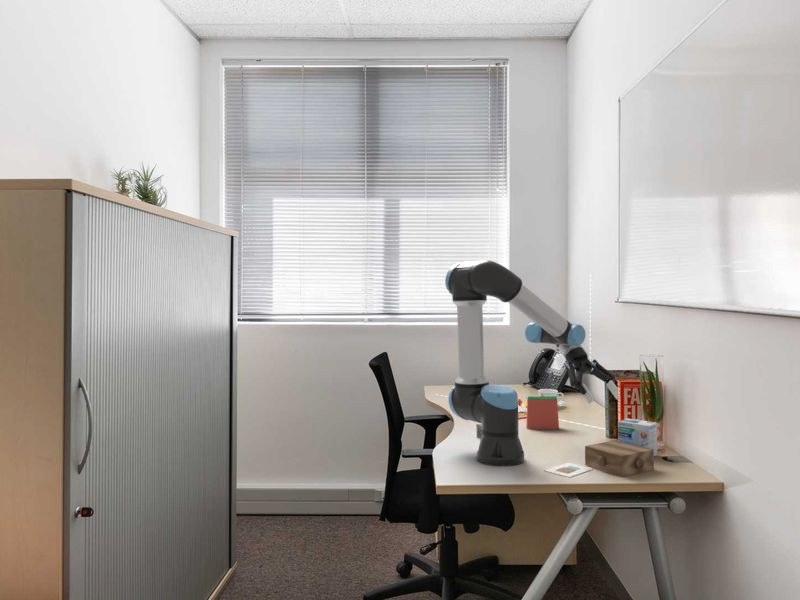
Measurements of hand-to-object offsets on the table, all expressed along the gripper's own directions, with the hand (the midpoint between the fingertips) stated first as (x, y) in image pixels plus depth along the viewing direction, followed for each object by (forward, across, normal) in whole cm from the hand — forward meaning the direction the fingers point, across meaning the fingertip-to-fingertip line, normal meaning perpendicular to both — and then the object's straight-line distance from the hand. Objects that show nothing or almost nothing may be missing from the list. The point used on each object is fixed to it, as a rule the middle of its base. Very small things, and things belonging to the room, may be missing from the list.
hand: (605, 399), depth 212 cm
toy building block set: (-21, -9, -44) cm, 50 cm away
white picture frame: (+22, +32, -1) cm, 39 cm away
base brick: (+26, +17, +3) cm, 31 cm away
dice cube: (-11, +28, -34) cm, 46 cm away
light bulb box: (+21, 0, -2) cm, 21 cm away
